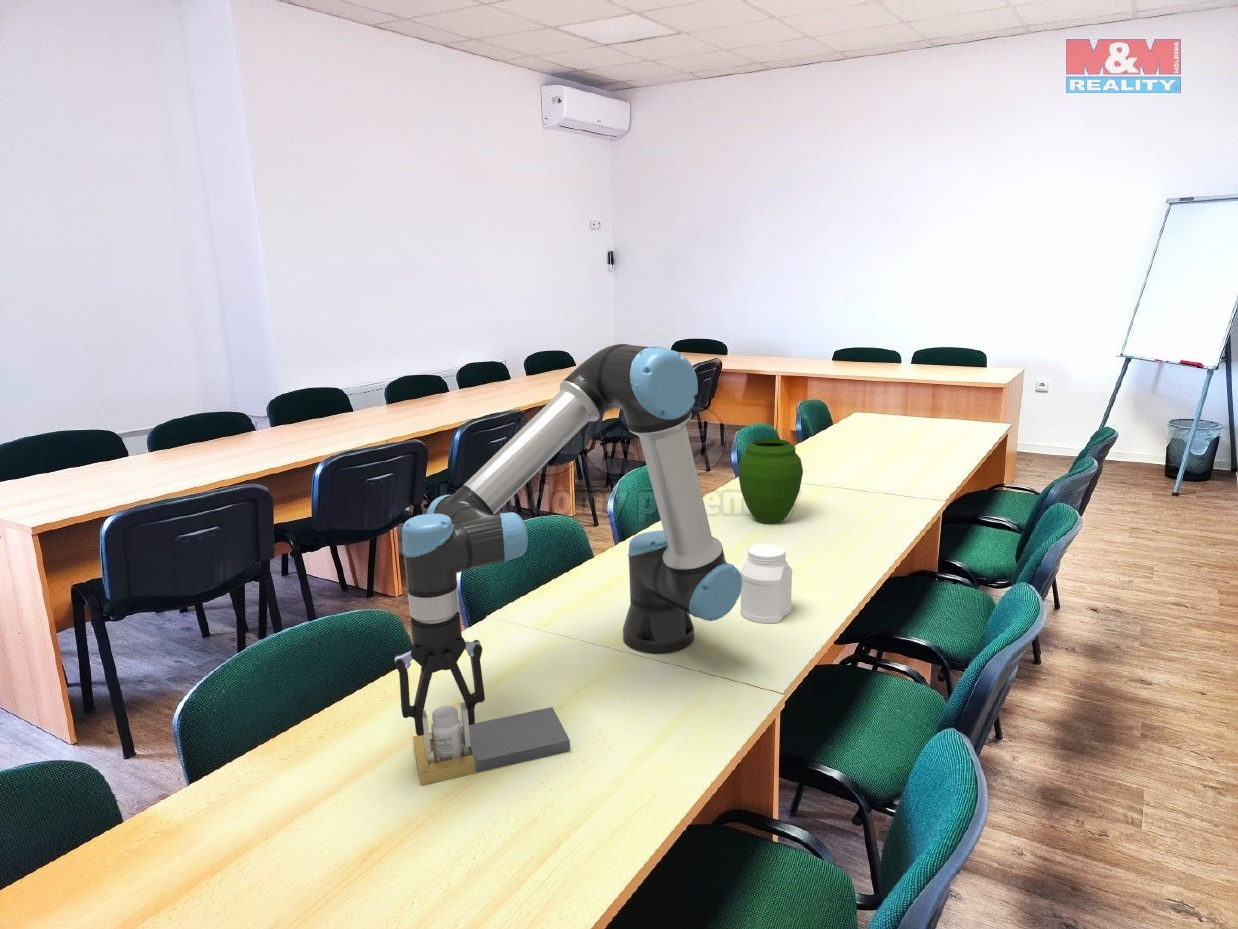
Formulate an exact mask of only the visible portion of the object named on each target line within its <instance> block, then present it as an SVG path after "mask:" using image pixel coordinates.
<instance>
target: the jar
mask: <svg viewBox="0 0 1238 929" xmlns="http://www.w3.org/2000/svg"><path fill="white" fill-rule="evenodd" d="M786 552H787V551H786V548H784V547H783V546H780V545H777V544H772V543H769V544H768V543H760V544H753V545H751V546H750V547H749V548H747V559H746V561H745V562H744V564H743V565H742V567H741V569H740V571H739V572H740V574H741V577H742V589H741V593H740V608H739V609H740V610H739V613H740V615H741V616H742V618H744V619H747V620H748V621H751V622H754V623H757V624H767V625H768V624H769V625H770V624H771V625H772V624H777V623H781V622H782V620H783V618H785V617H786V616H787V615H790V614H791V613H792V589H793V588H792V587H793V586H792V584H793V582H792V581H793V580H792V579H793V569H792V567H791V566H790V565H789V563H788V562H787V560H786V557H787V556H786Z"/></svg>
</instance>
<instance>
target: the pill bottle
mask: <svg viewBox="0 0 1238 929" xmlns="http://www.w3.org/2000/svg"><path fill="white" fill-rule="evenodd" d="M431 717H432V718H431V720H432V724H431V728H430V729H431V732H432V741H433V750H432V751H433V759H434V763H438V762H443V761H447V760H451V759H456V758H460V757H465V750H464V743H463V739H462V728H461V726H462V721H461V720H460V719H459V712H458V708H457V707H455V706H454V705H443V706H440V707H437V708H436V709H434V710H433V711H432V713H431Z"/></svg>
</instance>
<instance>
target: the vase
mask: <svg viewBox="0 0 1238 929" xmlns="http://www.w3.org/2000/svg"><path fill="white" fill-rule="evenodd" d="M802 463H803V462H802V458H801V457H800V456H799V455H798V454H797V453H796V446H795V445H793V444H792V443H790V442H789V441H788V440H785V439H780V438H779V439H778V438H761V439H756V440H753V441H751V442H750V443H749V444H748V445H746V446H745V452H744V453H743V455H741V457H740V459H739V464H738V468H737V474H738V475H737V476H738V480H739V487H740V492H741V495H742V497H743V500H744V503H745V506H746V508H747V509H748V511H749V513H750V514H751V515H752V516H753V517H754V519H755V520H756V521H757V522H760V523H763V524H778V523H780V522H783V521H784V520H785V519H786V518H787V516H788V515H789V514H790V513H791V510H792V509H793V508H794V507H795V503H796V501H797V498H798V496H799V493H800V491H801V487H802V486H801V485H802V479H803V476H804V475H803V473H804V469H803V464H802Z"/></svg>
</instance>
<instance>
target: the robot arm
mask: <svg viewBox="0 0 1238 929" xmlns="http://www.w3.org/2000/svg"><path fill="white" fill-rule="evenodd" d="M698 386H699V385H698V376H697V374H696V371H695V368H694V367H693V365H692V363H691V361H690V360H688V359H687V357H686V356H685V355H683V354H682V353H680V352H678V351H676V350H673V349H668V348H666V347H663V346H645V345H644V346H643V345H633V344H627V343H618V344H616V343H615V344H613V345H609V346H606V347H605V348H602V349H600V350H599V351H597V352H595V353H594V354H592V355H591V356H589V357H588V358H587V359H586V360H584V361H583V362H582V363H580V364H579V366H577V367H576V368H575V369H574V370H573V371H571V373H570V374H568V376H566V377H565V379H563V380H562V381H561V382H560V383H559V392H558V393H557V394H555V396H553V398H552V399H551V400H550V401H549V402H548V403H546V405H544V406H543V407H542V408H541V409H540V410H539V411H538V412H537V413H536V414H535V415H534V416H533V417H531V419H530V420H529V421H528V422H526V424H525V425H524V426H523V427H522V428H521V429H519V430H518V432H517V433H516V434H514V436H512V438H510V439H509V440H508V442H506V443H505V444H504V445H502V447H501V448H500V449H499V450H498V451H497V452H496V453H495V454H494V455H493V456H492V457H491V458H490V459H489V460H488V461H487V462H486V463H484V464H483V465H482V467H480V468H479V469H478V471H476V473H475V474H473V475H472V476H471V477H470V478H469V479H468V480H467V481H466V482H465V483H464V484H463V485H462V486H461V487H460V488H459V489H458V490H456V491H455V492H454V493H453V494H443V495H441V496H438V497H436V498H435V499H434V500H432V501H431V503H430V504H429V506H428V508H427V511H426V513H425V514H418V515H416V516H413V517H411V518H410V517H409V519H407V520H406V521H405V522H404V524H403V526H402V532H401V533H402V534H401V539H402V540H401V541H402V542H401V543H402V548H401V549H402V550H401V551H402V555H403V562H404V569H405V577H406V586H407V598H408V601H407V602H408V609H409V615H410V617H411V618H410V628H411V638H412V640H411V641H412V644H411V647H410V650H409V651H407V652H405V653H403V654H400V653H397V654H395V655H394V665H395V667H396V669H397V671H398V674H399V675H398V677H399V693H400V709H401V714H402V717H403V718H404V719H408V718H413V719H414V728H415V733H416V736H421V735H423V737H424V746H425V752H426V757H427V756H431V755H432V750H431V748H430V738H429V733H430V730H429V721H428V715H427V711H426V709H425V705H426V702H427V701H426V700H427V696H428V691H429V686H430V682H431V680H432V675H433V673H437V672H440V671H448V670H449V671H450V672H451V674H452V676H453V678H454V681H455V682H456V686H457V687H458V690H459V692H460V694H461V696H462V699H463V701H461V702H459V704H460V715H461V726H462V729H463V739H464V742H465V743H464V746H465V748H467V747H469V746H471V745H470V734H469V725H472V724H474V723H476V715H475V714H476V713H475V709H476V705H477V704H478V703H483V702H485V700H486V696H485V689H484V688H485V687H484V679H483V672H482V664H481V657H482V653H483V646H482V644H481V642H480V640H479V639H474V640H473V641H467V640H465V638H464V637H463V634H462V626H461V625H462V623H461V613H460V611H459V610H460V601H459V590H458V579H457V578H458V575H457V574H458V573H463V572H467V571H469V570H474V569H479V568H483V567H487V566H491V565H495V564H499V563H507V562H508V561H510V560H513V559H517V558H519V557H521V556H523V555H524V554H525V553H526V551H527V548H528V545H529V538H528V531H527V527H526V524H525V523H524V520H523V518H522V517H521V516H520V515H519V514H517V513H516V512H513V511H512V512H499V511H500V509H502V508H503V507H504V506H505V505H506V504H507V503H508V502H509V501H510V500H511V499H512V498H513V497H514V496H515V495H516V494H517V493H518V492H519V491H520V490H521V489H522V488H523V487H524V486H525V485H526V484H527V483H528V482H529V481H530V480H531V479H532V478H533V477H534V476H535V475H537V473H538V472H539V471H540V470H541V469H542V468H543V467H544V466H545V465H547V463H548V462H549V461H550V460H551V459H552V458H553V457H554V456H555V455H556V454H557V453H558V452H560V450H561V449H562V448H563V447H564V446H566V444H567V443H568V442H569V441H570V440H572V438H574V437H575V435H576V434H578V433H579V432H580V430H581V429H582V428H583V427H585V425H587V424H588V423H589V422H597V421H598V420H600V418H602V416H603V415H604V414H606V413H607V412H608V411H609V412H610V411H612V410H614V409H621V410H622V412H623V414H624V418H625V422H626V426H627V429H628V431H629V432H630V433H632V434H633V435H635V436H637V437H638V438H639V442H640V446H641V450H642V453H643V457H644V461H645V464H646V469H647V472H648V476H649V479H650V484H651V488H652V491H653V495H654V499H655V504H656V506H657V507H656V508H657V511H658V514H659V517H660V521H661V522H660V523H661V526H662V530H653V531H647V532H643V533H639V534H637V535H634V536H633V537H632V538H631V540H630V541H629V544H628V554H627V558H628V571H629V572H628V574H629V596H630V598H629V600H630V601H629V603H630V604H629V607H628V609H627V614H626V617H625V620H624V623H623V627H622V639H623V642H624V643H625V645H627V646H628V647H629V648H631V649H633V650H635V651H638V652H643V653H646V654H647V653H648V654H668V653H674V652H678V651H681V650H683V649H686V648H687V647H689V646H690V645H691V644H692V643H693V642H694V641H695V626H694V623H693V620H692V618H691V616H693V617H694V618H697V619H700V620H704V621H706V622H711V621H712V622H713V621H717V620H720V619H722V618H723V617H725V616H727V615H728V614H729V613H730V612H731V611H732V610H733V608H734V607H735V605H736V604H737V601H738V600H739V598H740V597H741V589H742V577H741V574H740V572H741V571H739V568H737V567H736V566H735V565H734V564H732V563H728V562H727V560H726V556H725V552H724V548H723V544H722V542H721V541H720V540H719V539H718V538H716V537H714V536H713V535H712V531H711V527H710V523H709V518H708V515H707V509H706V506H705V502H704V501H705V500H704V498H703V493H702V488H701V484H700V480H699V476H698V472H697V468H696V464H695V459H694V455H693V451H692V446H691V443H690V442H691V441H690V438H689V434H688V430H687V423H688V422H689V420H690V419H691V418H692V408H693V406H694V405H695V402H696V399H695V396H697V395H698V388H699V387H698ZM498 512H499V513H498ZM464 651H466V653H467V655H468V656H469V658H470V665H471V674H472V679H473V687H474V688H473V689H474V692H473V693H471V691H470V690H469V688H468V685H467V682H466V681H465V678H464V675H463V674H462V670H461V669H460V667H459V665H458V661H459V660H460V658H461V656H462V655H463V653H464ZM412 660H413V661H415V662H416V663H417V664H418V665H419V666H420V674H419V679H418V685H417V689H416V693H415V698H414V703H413V705H411V702H410V701H411V700H410V699H411V698H410V683H409V682H410V680H409V671H408V669H409V668H410V667H411V662H412Z"/></svg>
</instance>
